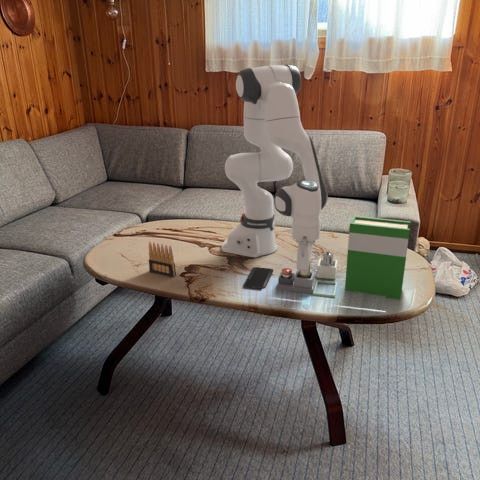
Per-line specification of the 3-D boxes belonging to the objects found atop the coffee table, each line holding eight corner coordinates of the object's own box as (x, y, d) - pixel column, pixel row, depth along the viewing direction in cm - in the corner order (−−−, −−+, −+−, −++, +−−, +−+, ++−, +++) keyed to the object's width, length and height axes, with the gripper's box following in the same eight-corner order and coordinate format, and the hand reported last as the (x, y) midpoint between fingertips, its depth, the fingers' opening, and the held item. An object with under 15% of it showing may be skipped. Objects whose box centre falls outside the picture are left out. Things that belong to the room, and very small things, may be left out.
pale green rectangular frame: (312, 296, 150) (313, 292, 149) (316, 282, 158) (316, 279, 158) (334, 298, 148) (334, 295, 148) (337, 285, 156) (337, 282, 156)
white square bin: (317, 278, 161) (317, 265, 159) (319, 270, 167) (319, 258, 165) (335, 280, 159) (335, 267, 158) (336, 272, 165) (337, 260, 163)
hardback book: (402, 289, 153) (410, 221, 144) (400, 299, 147) (409, 229, 137) (348, 281, 159) (353, 215, 150) (344, 291, 153) (349, 223, 143)
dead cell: (321, 276, 162) (322, 253, 158) (322, 271, 165) (323, 249, 162) (331, 277, 161) (333, 254, 157) (332, 272, 164) (334, 250, 161)
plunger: (280, 280, 154) (280, 272, 153) (282, 276, 157) (282, 267, 156) (290, 281, 154) (290, 273, 152) (292, 277, 157) (292, 268, 155)
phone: (274, 269, 167) (264, 288, 154) (274, 271, 168) (264, 291, 154) (253, 266, 169) (242, 285, 156) (253, 269, 170) (242, 288, 156)
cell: (298, 284, 153) (298, 261, 150) (299, 279, 156) (300, 256, 153) (308, 285, 152) (309, 262, 149) (310, 280, 155) (311, 257, 152)
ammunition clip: (176, 275, 166) (173, 245, 161) (173, 277, 164) (170, 246, 160) (152, 269, 171) (149, 240, 166) (149, 271, 169) (146, 242, 164)
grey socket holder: (276, 290, 154) (277, 277, 152) (281, 280, 161) (281, 267, 159) (312, 295, 150) (313, 281, 149) (316, 283, 158) (316, 270, 156)
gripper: (313, 245, 137) (311, 285, 142) (318, 221, 155) (316, 258, 161) (292, 243, 138) (291, 284, 144) (299, 220, 157) (298, 257, 162)
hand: (304, 270), depth 152 cm, fingers closed on cell, 4 cm apart
